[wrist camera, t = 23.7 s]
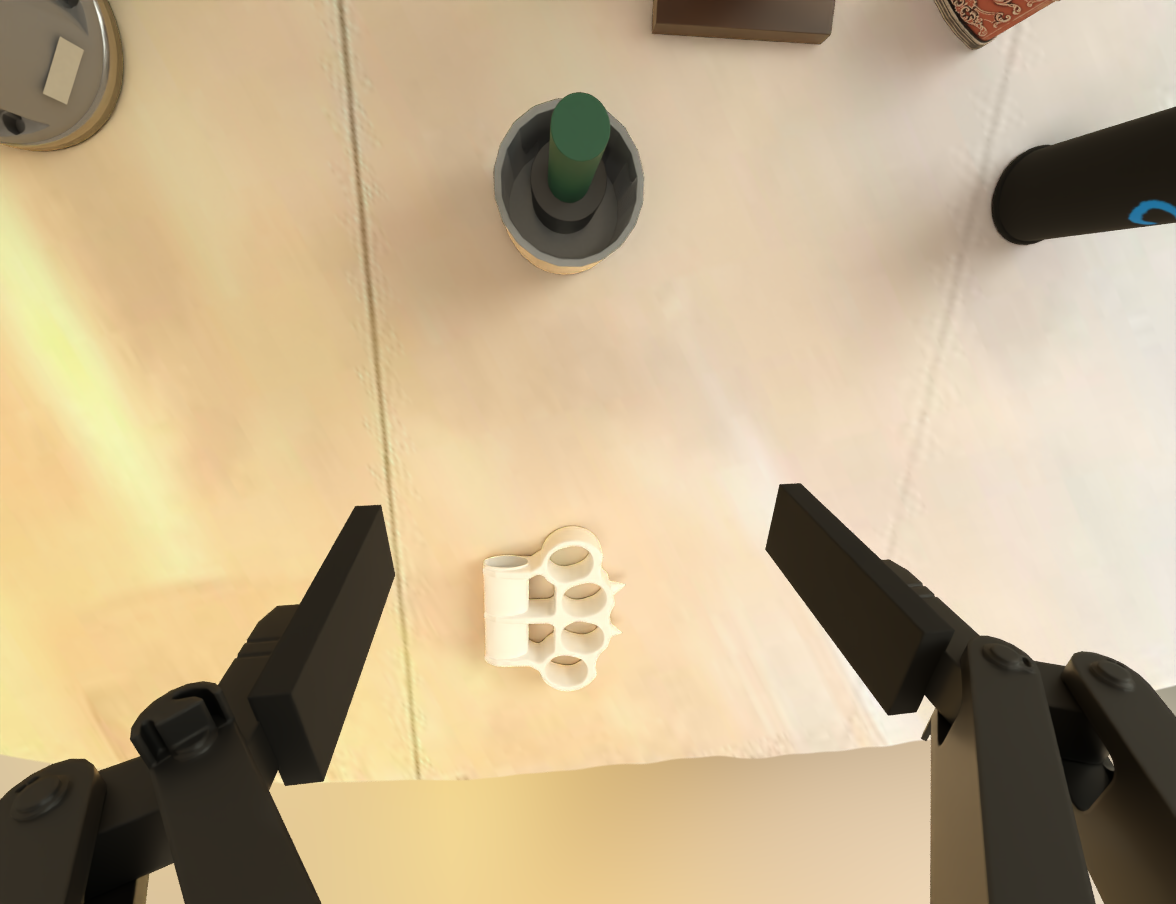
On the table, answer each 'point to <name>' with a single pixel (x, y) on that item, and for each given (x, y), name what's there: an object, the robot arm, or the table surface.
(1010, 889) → the robot arm
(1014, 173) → the aerosol can
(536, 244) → the steel cup
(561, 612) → the knuckle duster
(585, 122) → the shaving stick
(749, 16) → the stand
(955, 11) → the lighter
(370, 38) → the table surface
